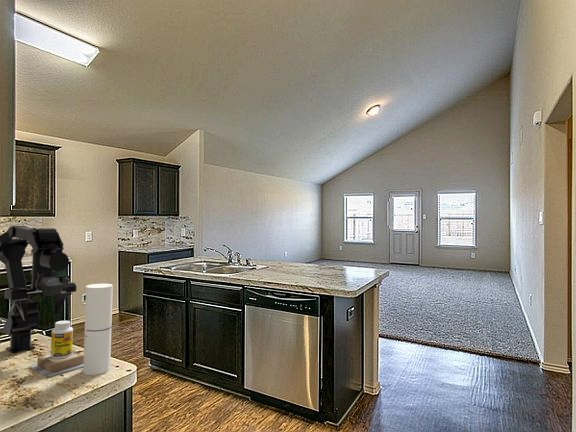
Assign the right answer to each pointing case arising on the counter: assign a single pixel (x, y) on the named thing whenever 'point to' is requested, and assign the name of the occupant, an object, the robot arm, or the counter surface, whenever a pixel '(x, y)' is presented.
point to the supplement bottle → (61, 340)
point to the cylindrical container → (98, 329)
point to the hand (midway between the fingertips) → (41, 317)
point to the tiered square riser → (58, 364)
